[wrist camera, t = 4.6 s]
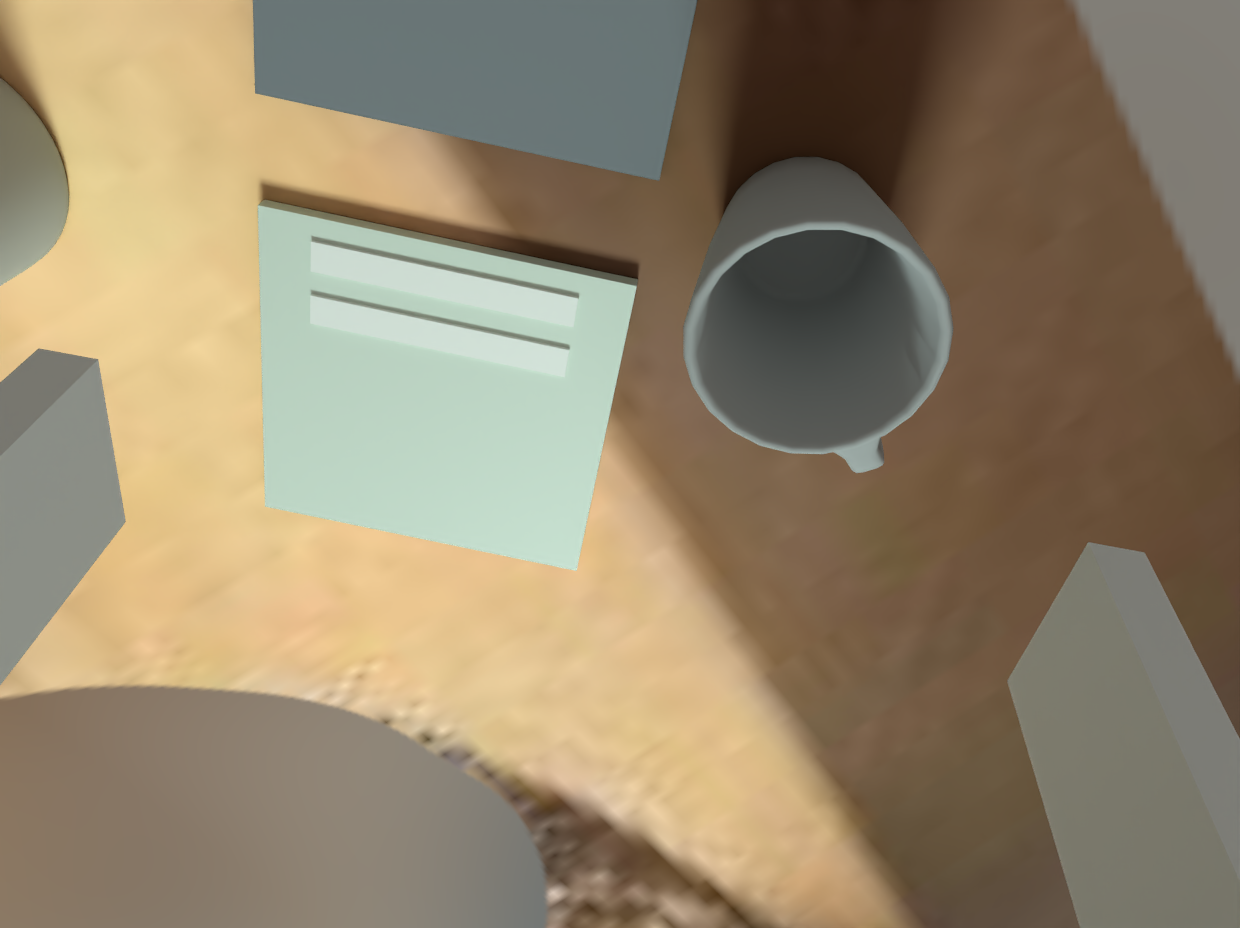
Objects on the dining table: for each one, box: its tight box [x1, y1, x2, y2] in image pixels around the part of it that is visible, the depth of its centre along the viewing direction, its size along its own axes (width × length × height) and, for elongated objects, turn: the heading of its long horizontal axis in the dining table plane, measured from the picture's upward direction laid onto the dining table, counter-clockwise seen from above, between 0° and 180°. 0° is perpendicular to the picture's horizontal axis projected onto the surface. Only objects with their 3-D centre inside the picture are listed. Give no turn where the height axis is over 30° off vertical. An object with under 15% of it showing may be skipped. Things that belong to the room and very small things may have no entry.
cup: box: [684, 157, 953, 473], centre depth 33 cm, size 8×10×8 cm
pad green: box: [258, 199, 638, 571], centre depth 41 cm, size 14×14×1 cm
